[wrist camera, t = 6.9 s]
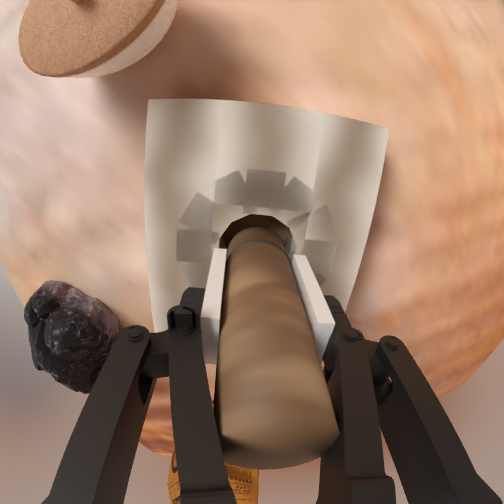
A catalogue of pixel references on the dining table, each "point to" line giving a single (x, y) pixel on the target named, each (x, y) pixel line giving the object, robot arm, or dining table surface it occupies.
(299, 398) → the peg
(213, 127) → the board
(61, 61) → the lidded jar
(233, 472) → the coffee package
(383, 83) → the dining table surface
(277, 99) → the dining table surface
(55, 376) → the crystal cluster
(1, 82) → the dining table surface
